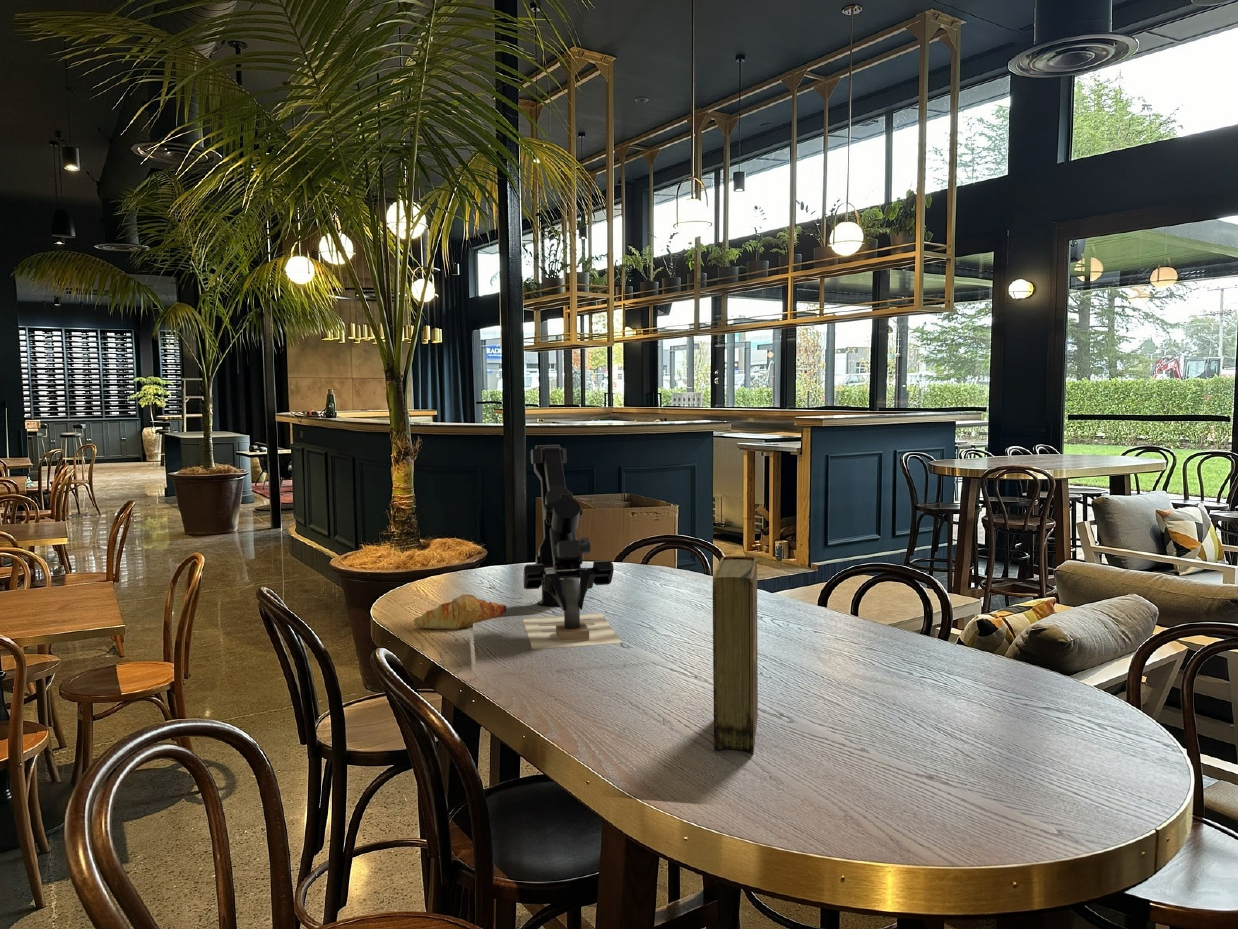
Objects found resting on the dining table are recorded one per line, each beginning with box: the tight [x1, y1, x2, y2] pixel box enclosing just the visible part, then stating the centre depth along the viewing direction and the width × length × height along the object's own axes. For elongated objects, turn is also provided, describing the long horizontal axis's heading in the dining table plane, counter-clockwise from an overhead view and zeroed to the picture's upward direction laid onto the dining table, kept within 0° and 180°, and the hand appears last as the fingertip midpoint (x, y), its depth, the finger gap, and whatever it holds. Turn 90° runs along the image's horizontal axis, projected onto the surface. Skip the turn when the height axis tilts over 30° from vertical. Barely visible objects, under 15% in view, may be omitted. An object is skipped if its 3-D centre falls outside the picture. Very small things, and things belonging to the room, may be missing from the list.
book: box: [712, 555, 759, 754], centre depth 124 cm, size 16×6×25 cm, turn 168°
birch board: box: [522, 613, 623, 650], centre depth 179 cm, size 24×18×1 cm
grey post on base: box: [556, 578, 589, 642], centre depth 173 cm, size 7×6×12 cm
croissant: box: [413, 593, 508, 630], centre depth 189 cm, size 21×10×8 cm, turn 117°
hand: (572, 609), depth 172 cm, fingers closed on grey post on base, 3 cm apart
